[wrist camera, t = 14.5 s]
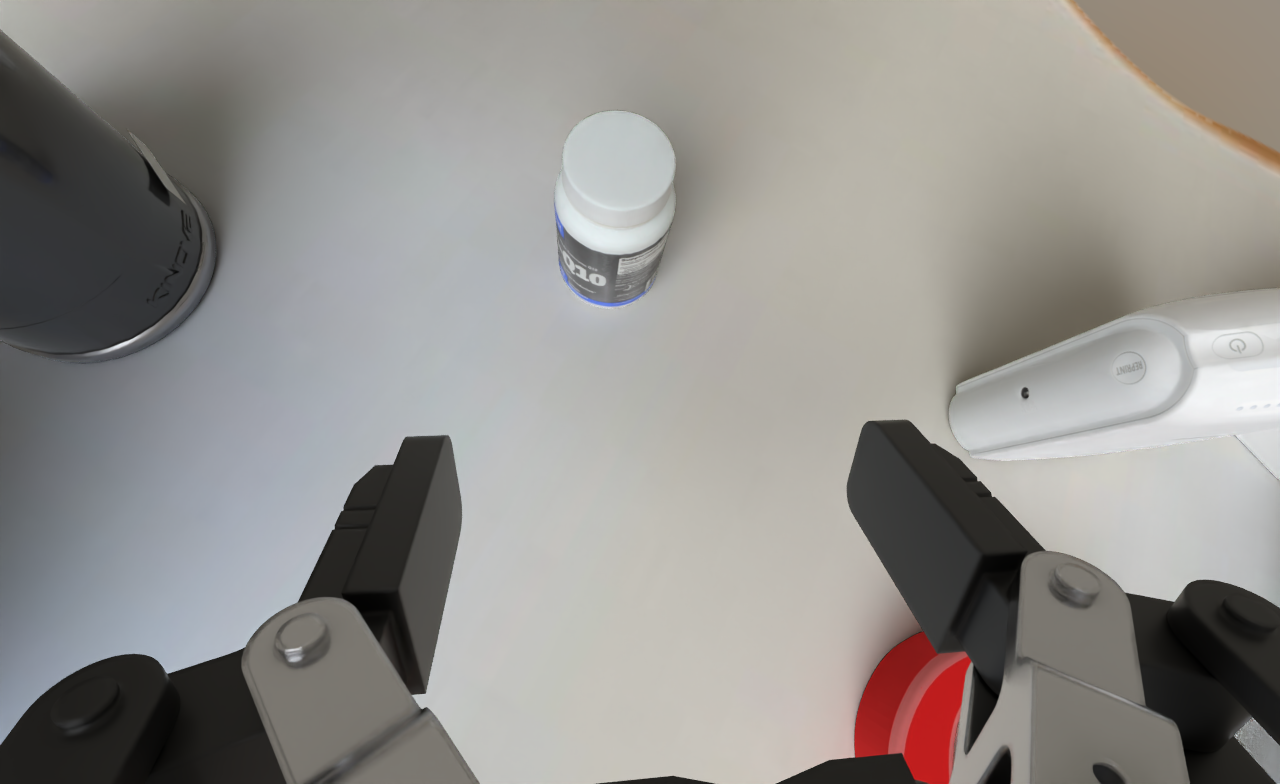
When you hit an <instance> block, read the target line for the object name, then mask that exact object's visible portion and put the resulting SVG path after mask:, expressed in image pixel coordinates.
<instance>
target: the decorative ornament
mask: <svg viewBox="0 0 1280 784" xmlns="http://www.w3.org/2000/svg"><path fill="white" fill-rule="evenodd" d="M970 663H971V660H970V658H969V657H968V655H967V654H966V652H953V653H941V654H937V653H936V651H935V649H934V648H933V646H932V645H931V643H930V641H929V640H928V638H927V636H926V635H925V633H924V631H923V632H920V633H918V634H916V635H913V636H912V637H910V638H908V639H906V640H905V641H903V642H902V643H900V644H898V645H897V646H896V647H894V648H893V649H892V650H891V651H890V652H889V653H888V654H887V655H886V656H885V657H884V658H883V660H882V661H881V662H880V663H879V665H878V666H877V668H876V669H875V671H874V673H873V674H872V676H871V678H870V680H869V682H868V684H867V686H866V688H865V691H864V693H863V696H862V699H861V702H860V705H859V709H858V713H857V718H856V724H855V758H856V757H866V756H875V755H885V754H895V753H902V754H903V756H904V758H905V761H906V763H907V765H908V767H909V769H910V771H911V773H912V775H913V778H914V780H919V781H923V782H926V783H929V784H949V781H950V778H951V774H952V770H953V754H954V742H955V736H956V730H957V727H958V723H959V720H960V712H961V705H962V697H963V689H964V682H965V675H966V671H967V669H968V667H969V665H970Z"/></svg>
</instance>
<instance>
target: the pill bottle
mask: <svg viewBox="0 0 1280 784" xmlns="http://www.w3.org/2000/svg"><path fill="white" fill-rule="evenodd" d="M675 171H676V159H675V153H674V150H673V147H672V145H671V143H670V141H669V139H668V137H667V136H666V135H665V133H664V132H663V131H662V130H661V129H660V128H659V127H658V126H657V125H656V124H655V123H653V122H652V121H650V120H649V119H647V118H645V117H643V116H641V115H638V114H636V113H632V112H628V111H622V110H611V111H602V112H598V113H595V114H593V115H590V116H588V117H586V118H585V119H583V120H582V121H580V122H579V123H578V124H577V125H576V126H575V127H574V128H573V129H572V130H571V132H570V133H569V135H568V137H567V139H566V141H565V144H564V147H563V152H562V169H561V171H560V173H559V175H558V177H557V181H556V185H555V192H554V205H555V216H556V226H557V243H558V254H559V265H560V270H561V274H562V276H563V279H564V281H565V283H566V285H567V286H568V288H569V289H570V290H571V292H572V293H573V294H574V295H575V296H576V297H578V298H579V299H580V300H581V301H583V302H585V303H587V304H589V305H592V306H595V307H598V308H604V309H617V308H622V307H625V306H628V305H631V304H633V303H634V302H636V301H638V300H639V299H641V298H642V297H643V296H644V295H645V294H646V293H647V292H648V291H649V289H650V288H651V286H652V284H653V283H654V280H655V278H656V275H657V271H658V267H659V264H660V260H661V257H662V254H663V250H664V247H665V244H666V240H667V237H668V234H669V231H670V227H671V224H672V221H673V218H674V214H675V209H676V194H675V189H674V185H673V180H674V176H675Z"/></svg>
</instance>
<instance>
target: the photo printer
mask: <svg viewBox="0 0 1280 784" xmlns="http://www.w3.org/2000/svg"><path fill="white" fill-rule="evenodd" d="M949 422H950V426H951V429H952V432H953V434H954V436H955V438H956V440H957V441H958V443H959V444H960V445H961V446H962V448H964V449H965V450H968V451H969V454H970V457H973V458H978V459H986V460H999V461H1000V460H1033V459H1050V458H1064V457H1077V456H1088V455H1098V454H1107V453H1115V452H1123V451H1131V450H1139V449H1146V448H1154V447H1162V446H1168V445H1175V444H1182V443H1188V442H1195V441H1201V440H1207V439H1214V438H1220V437H1226V436H1232V435H1239V434H1245V433H1251V432H1258V431H1264V430H1270V429H1276V428H1280V288H1270V289H1256V290H1245V291H1237V292H1227V293H1220V294H1212V295H1203V296H1197V297H1192V298H1187V299H1183V300H1180V301H1175V302H1169V303H1165V304H1161V305H1157V306H1153V307H1149V308H1146V309H1142V310H1139V311H1136V312H1133V313H1130V314H1128V315H1125V316H1123V317H1120V318H1118V319H1115V320H1113V321H1110V322H1108V323H1106V324H1103V325H1101V326H1098V327H1096V328H1094V329H1091V330H1089V331H1086V332H1084V333H1081V334H1079V335H1076V336H1074V337H1071V338H1069V339H1067V340H1064V341H1062V342H1059V343H1057V344H1054V345H1052V346H1049V347H1047V348H1045V349H1042V350H1040V351H1037V352H1035V353H1033V354H1030V355H1028V356H1025V357H1023V358H1020V359H1018V360H1015V361H1013V362H1010V363H1008V364H1005V365H1003V366H1001V367H998V368H996V369H993V370H991V371H988V372H986V373H983V374H981V375H978V376H975V377H973V378H970V379H968V380H966V381H964V382H961V383H960V384H958V385H957V386H956V395H955V396H954V397H953V398H952V400H951V403H950V407H949Z"/></svg>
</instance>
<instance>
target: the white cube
mask: <svg viewBox="0 0 1280 784" xmlns="http://www.w3.org/2000/svg"><path fill="white" fill-rule="evenodd" d="M1235 436H1236V437H1237V438H1238V439H1239V440H1240V441H1241V442H1242V443H1243V444H1244V445H1245V446H1246V447H1247V448H1248V449H1249V450H1250V451H1251V452H1252V453H1253V454H1254V455H1255V456H1256V457H1257V459H1258V460H1259V461H1260V462H1261V463H1262V464H1263V465H1264V466H1265V467H1266V468H1267V469H1268V470H1269V471H1270V472H1271V473H1272V474H1273V475H1274V476H1275V477H1276V478H1277V479H1280V428H1276V429H1270V430H1264V431H1258V432H1251V433H1245V434H1239V435H1235Z"/></svg>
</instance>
